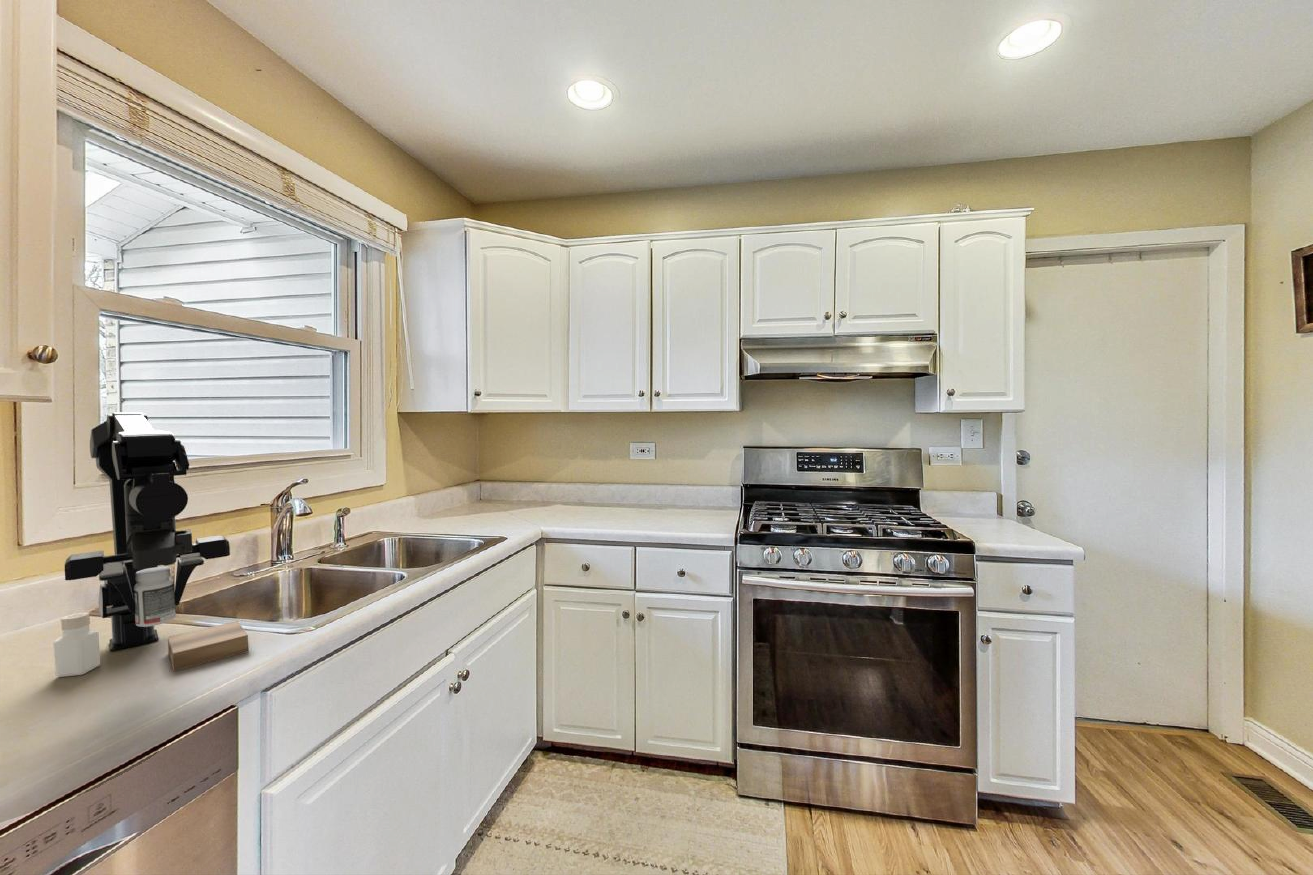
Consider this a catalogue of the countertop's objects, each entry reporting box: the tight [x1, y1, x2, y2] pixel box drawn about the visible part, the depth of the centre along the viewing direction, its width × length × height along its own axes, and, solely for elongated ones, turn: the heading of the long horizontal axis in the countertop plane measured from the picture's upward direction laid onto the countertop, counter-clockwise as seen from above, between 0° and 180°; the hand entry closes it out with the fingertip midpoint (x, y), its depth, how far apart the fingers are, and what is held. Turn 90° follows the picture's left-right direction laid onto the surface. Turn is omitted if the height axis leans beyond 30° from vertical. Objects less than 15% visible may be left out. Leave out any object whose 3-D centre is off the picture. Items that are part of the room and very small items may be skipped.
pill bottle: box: [134, 566, 177, 627], centre depth 86 cm, size 5×5×8 cm
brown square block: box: [167, 620, 250, 672], centre depth 96 cm, size 10×10×3 cm
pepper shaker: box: [53, 612, 101, 678], centre depth 89 cm, size 4×4×10 cm
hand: (155, 608), depth 86 cm, fingers closed on pill bottle, 5 cm apart
